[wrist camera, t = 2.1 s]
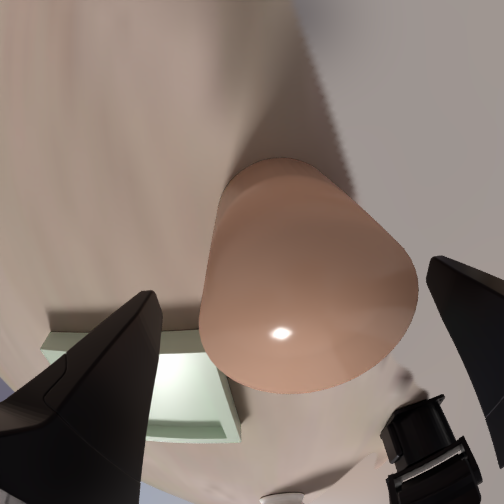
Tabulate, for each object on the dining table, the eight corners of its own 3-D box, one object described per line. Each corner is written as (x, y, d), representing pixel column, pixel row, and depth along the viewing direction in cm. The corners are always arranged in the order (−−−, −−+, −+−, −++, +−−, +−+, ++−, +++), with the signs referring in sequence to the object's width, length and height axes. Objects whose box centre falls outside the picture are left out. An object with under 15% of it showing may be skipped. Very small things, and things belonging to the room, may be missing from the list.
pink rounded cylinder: (339, 154, 11) (436, 211, 5) (337, 265, 14) (393, 374, 8) (208, 165, 12) (173, 237, 5) (226, 278, 14) (221, 401, 8)
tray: (213, 328, 16) (211, 352, 14) (240, 424, 21) (241, 442, 20) (50, 331, 16) (40, 349, 14) (116, 421, 21) (112, 436, 20)
